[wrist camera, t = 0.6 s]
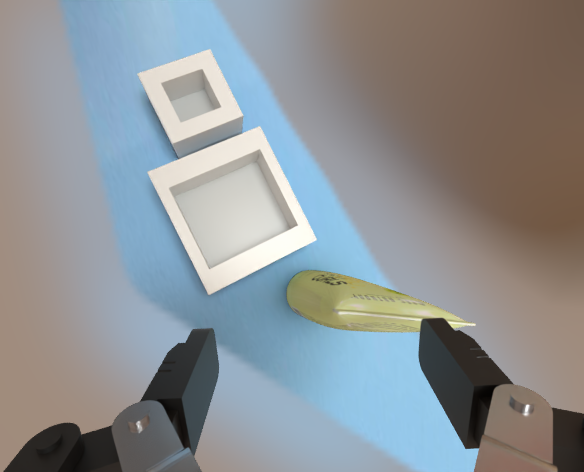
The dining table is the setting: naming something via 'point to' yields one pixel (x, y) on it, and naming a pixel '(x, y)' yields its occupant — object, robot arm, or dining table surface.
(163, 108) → the endcap
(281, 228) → the endcap
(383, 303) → the tube
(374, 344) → the dining table surface
